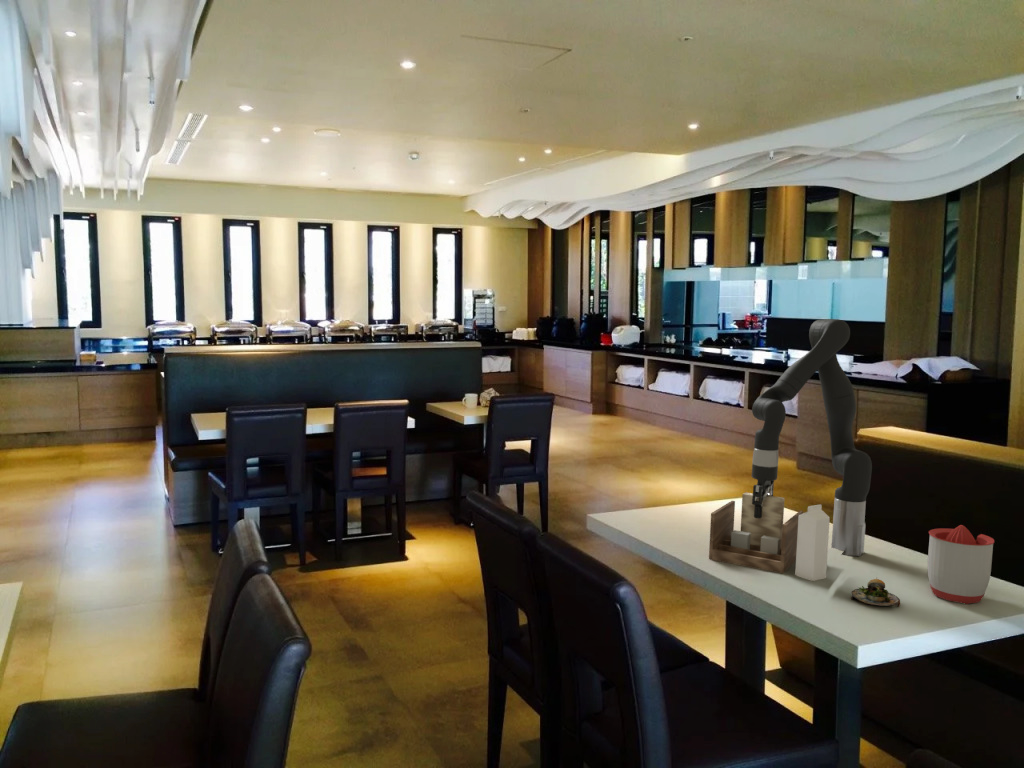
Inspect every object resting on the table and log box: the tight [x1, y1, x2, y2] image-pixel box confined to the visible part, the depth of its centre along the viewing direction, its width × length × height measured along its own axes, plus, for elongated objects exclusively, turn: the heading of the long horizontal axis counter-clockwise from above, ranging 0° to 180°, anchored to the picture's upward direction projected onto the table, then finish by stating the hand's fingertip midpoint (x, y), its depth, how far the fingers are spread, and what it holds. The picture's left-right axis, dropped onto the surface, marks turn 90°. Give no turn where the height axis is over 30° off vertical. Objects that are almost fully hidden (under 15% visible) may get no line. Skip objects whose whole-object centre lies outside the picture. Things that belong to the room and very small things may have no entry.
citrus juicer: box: [927, 524, 995, 605], centre depth 221 cm, size 16×17×20 cm
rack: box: [708, 500, 804, 574], centre depth 247 cm, size 22×20×16 cm
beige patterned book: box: [740, 491, 786, 549], centre depth 251 cm, size 12×3×18 cm, turn 57°
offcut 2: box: [760, 535, 781, 555], centre depth 244 cm, size 5×3×7 cm, turn 57°
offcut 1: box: [731, 529, 751, 550], centre depth 249 cm, size 5×3×7 cm, turn 57°
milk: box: [794, 504, 831, 582], centre depth 230 cm, size 6×6×22 cm
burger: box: [850, 578, 901, 608], centre depth 216 cm, size 12×12×8 cm
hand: (761, 515), depth 251 cm, fingers open, 8 cm apart
